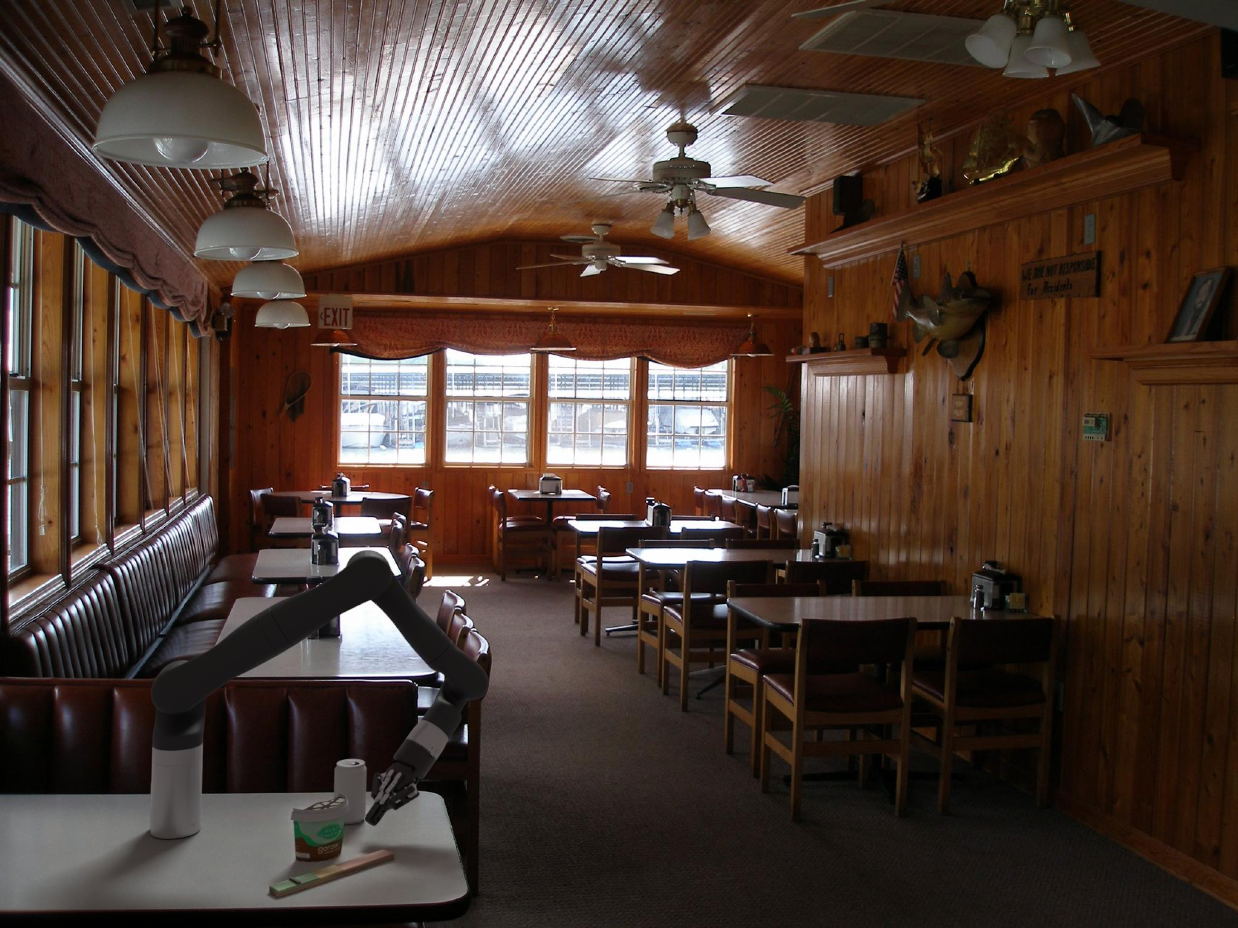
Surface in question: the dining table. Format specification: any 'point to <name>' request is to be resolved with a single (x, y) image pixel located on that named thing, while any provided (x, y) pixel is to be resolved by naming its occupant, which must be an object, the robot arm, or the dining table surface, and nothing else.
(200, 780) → the robot arm
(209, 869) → the dining table surface
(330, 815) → the food container
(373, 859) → the strip
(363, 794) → the beverage can
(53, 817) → the dining table surface
